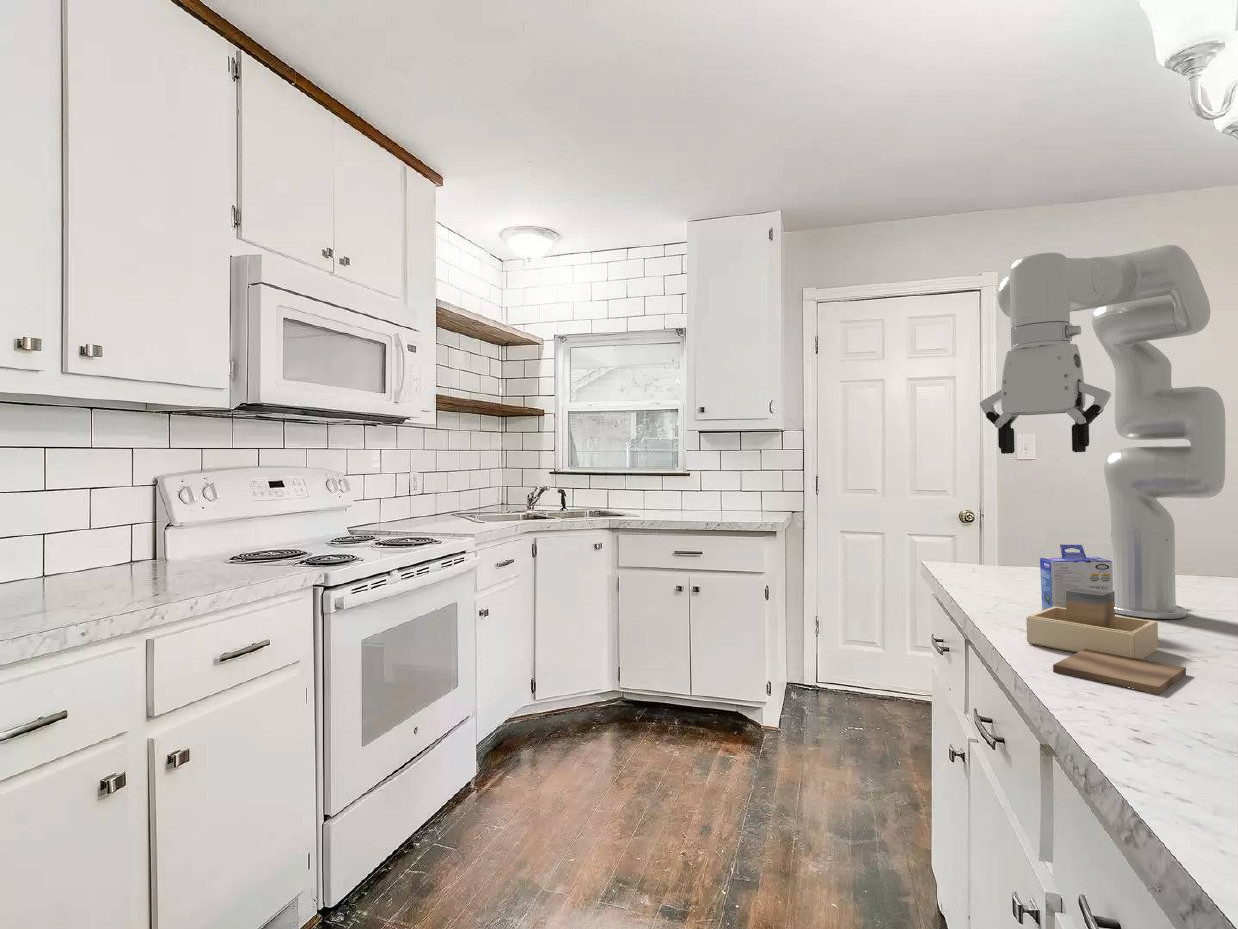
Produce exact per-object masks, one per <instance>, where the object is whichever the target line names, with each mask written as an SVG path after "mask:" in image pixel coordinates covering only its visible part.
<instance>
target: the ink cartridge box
mask: <svg viewBox="0 0 1238 929" xmlns="http://www.w3.org/2000/svg"><path fill="white" fill-rule="evenodd" d="M1059 547H1060V548H1059V549H1060V553H1061V557H1040V558H1039V568H1040V583H1041V584H1040V589H1041V611H1043V610H1046V609H1048V608H1051V607H1061V608H1066V591H1067V590H1070V589H1073V588H1076V587H1085V588H1093V589H1101V590H1109V591H1113V572H1112V560H1108V559H1106V558H1103V557H1099V556H1095V557H1093V556H1087V555H1086V553H1085V550H1084V547H1083V545H1082V544H1059ZM1070 549H1075V550H1079V552H1076V551H1075V552H1070V551H1068V552H1067V551H1065V550H1070Z"/></svg>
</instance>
